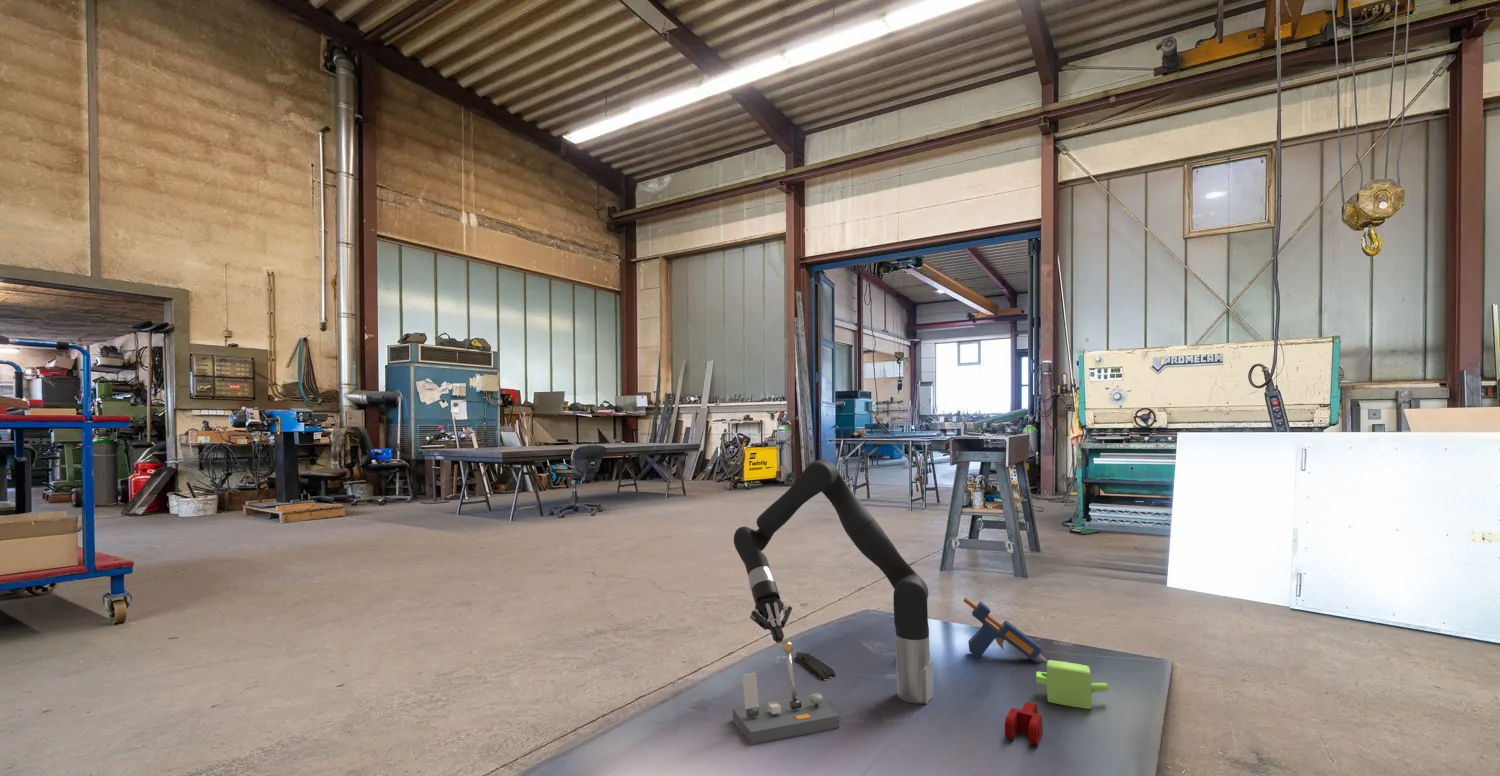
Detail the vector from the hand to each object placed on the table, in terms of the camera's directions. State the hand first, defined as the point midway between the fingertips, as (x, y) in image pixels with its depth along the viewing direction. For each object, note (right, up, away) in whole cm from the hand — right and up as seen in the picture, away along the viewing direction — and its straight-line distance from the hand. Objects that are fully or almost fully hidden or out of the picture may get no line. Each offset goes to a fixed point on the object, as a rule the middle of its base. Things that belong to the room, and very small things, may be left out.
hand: (779, 641), depth 177 cm
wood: (+13, -20, +27) cm, 36 cm away
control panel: (+1, -17, -12) cm, 20 cm away
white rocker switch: (-2, -12, -12) cm, 18 cm away
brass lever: (+4, -12, -10) cm, 17 cm away
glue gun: (+76, -19, +33) cm, 85 cm away
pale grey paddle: (-8, -12, -14) cm, 20 cm away
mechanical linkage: (+61, -16, -17) cm, 66 cm away
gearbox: (+81, -17, 0) cm, 83 cm away
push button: (+9, -14, -8) cm, 19 cm away
